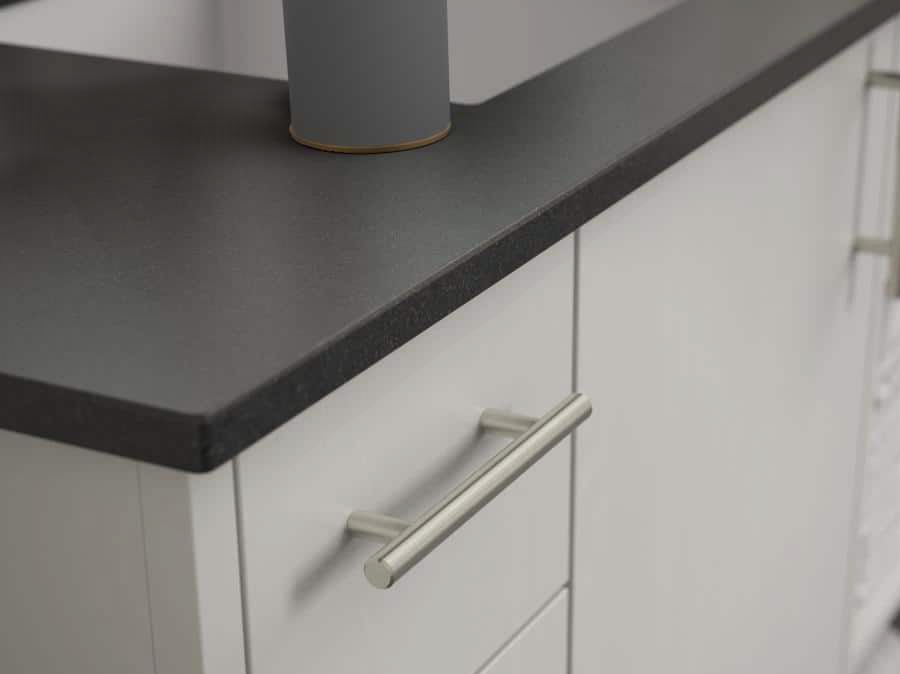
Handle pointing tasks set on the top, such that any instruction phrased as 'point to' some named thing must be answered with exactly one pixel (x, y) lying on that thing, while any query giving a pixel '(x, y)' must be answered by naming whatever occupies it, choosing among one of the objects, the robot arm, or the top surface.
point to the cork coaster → (371, 148)
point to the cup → (367, 70)
